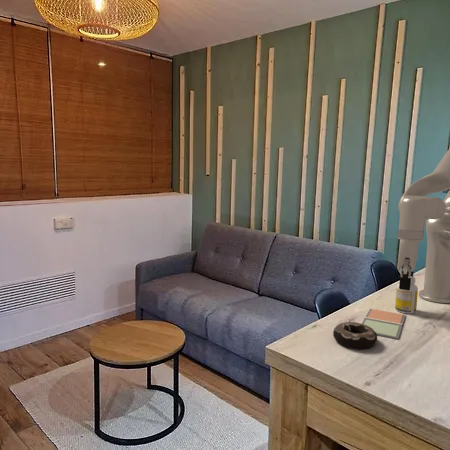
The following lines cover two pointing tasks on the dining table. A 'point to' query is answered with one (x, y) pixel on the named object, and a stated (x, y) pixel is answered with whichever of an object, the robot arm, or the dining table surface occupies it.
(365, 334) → the donut
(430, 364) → the dining table surface
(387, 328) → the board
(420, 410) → the dining table surface
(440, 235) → the robot arm
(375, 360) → the dining table surface
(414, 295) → the pill bottle
